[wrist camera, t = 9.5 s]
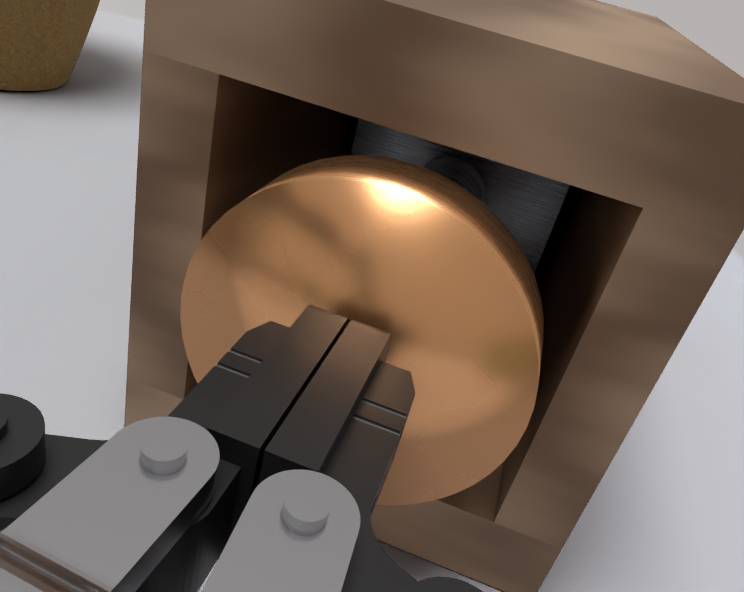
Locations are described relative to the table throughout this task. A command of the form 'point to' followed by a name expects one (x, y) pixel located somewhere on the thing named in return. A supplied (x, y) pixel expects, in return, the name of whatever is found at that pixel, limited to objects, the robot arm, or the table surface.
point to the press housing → (482, 138)
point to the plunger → (397, 288)
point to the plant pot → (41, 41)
